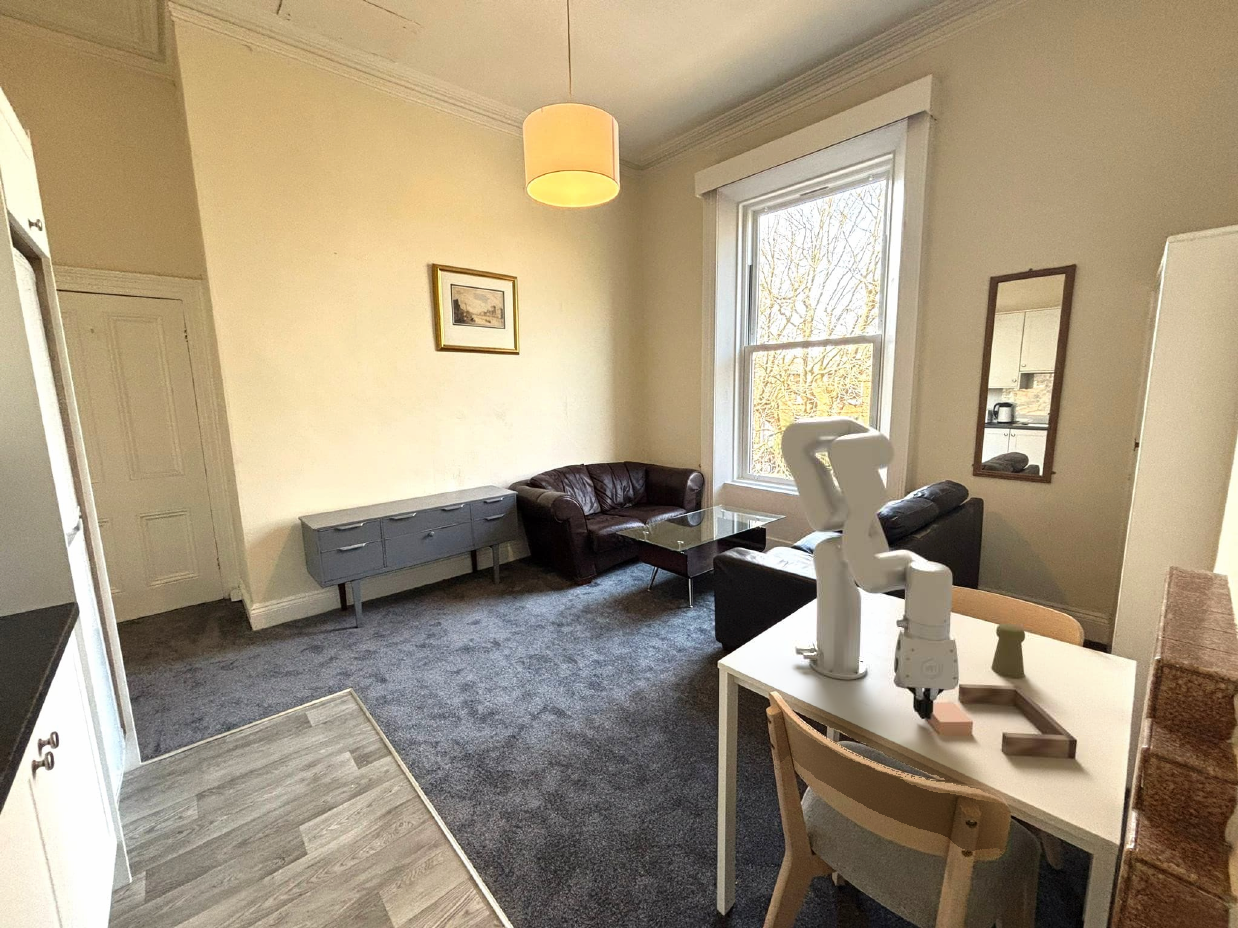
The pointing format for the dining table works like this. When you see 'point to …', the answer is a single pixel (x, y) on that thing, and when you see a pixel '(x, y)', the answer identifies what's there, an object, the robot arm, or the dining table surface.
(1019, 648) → the cork
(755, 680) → the dining table surface
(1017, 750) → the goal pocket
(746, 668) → the dining table surface
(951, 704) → the terracotta block
